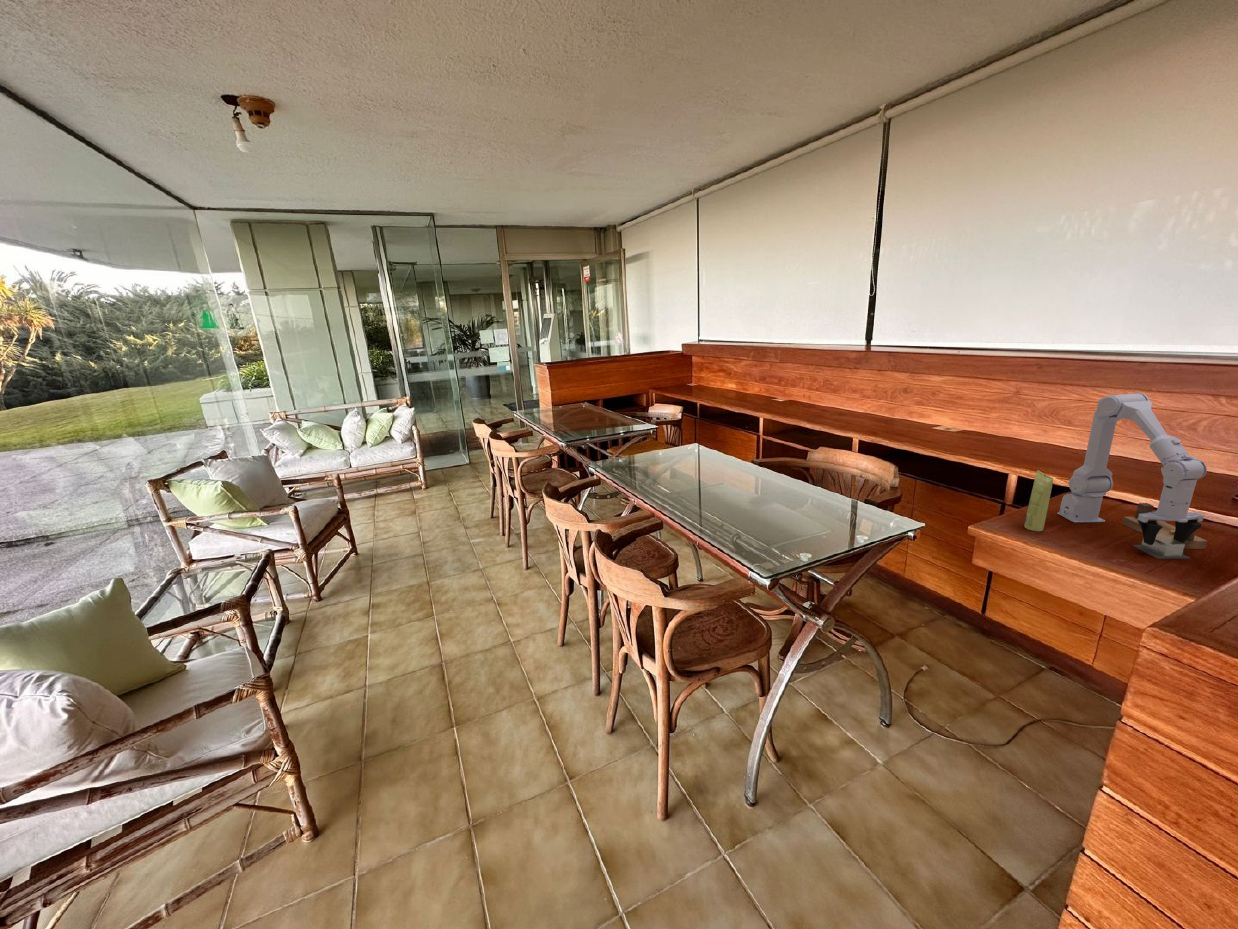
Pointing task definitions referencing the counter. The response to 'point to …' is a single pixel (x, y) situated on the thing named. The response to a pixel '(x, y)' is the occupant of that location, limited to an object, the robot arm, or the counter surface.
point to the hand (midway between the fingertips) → (1162, 543)
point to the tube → (1039, 502)
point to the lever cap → (1165, 546)
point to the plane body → (1163, 528)
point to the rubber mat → (1158, 554)
